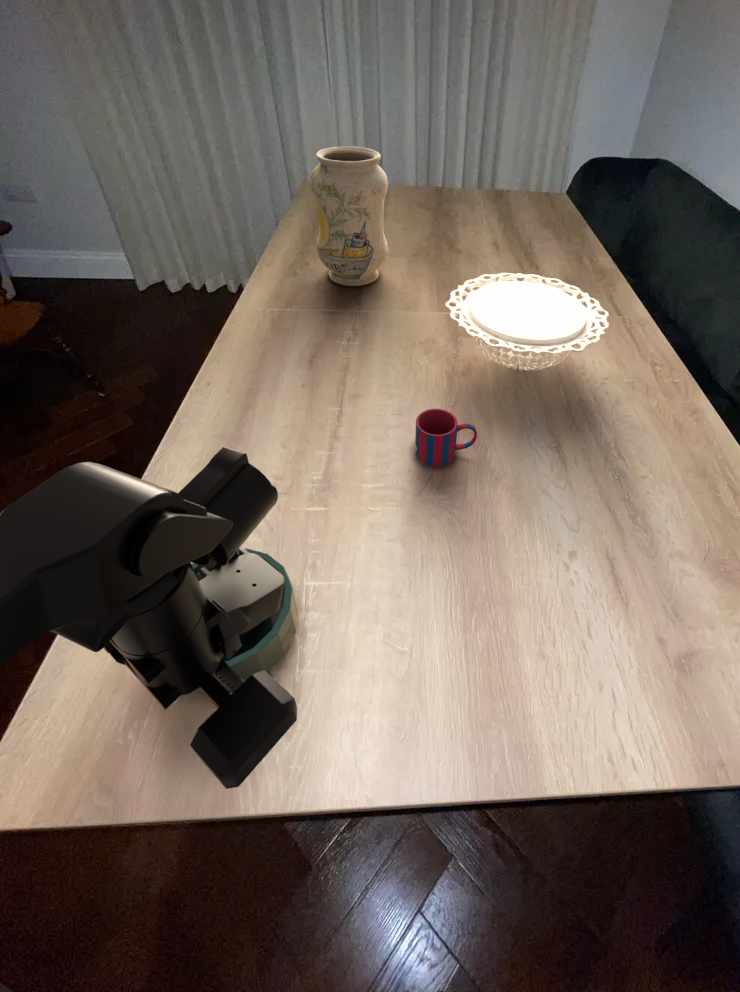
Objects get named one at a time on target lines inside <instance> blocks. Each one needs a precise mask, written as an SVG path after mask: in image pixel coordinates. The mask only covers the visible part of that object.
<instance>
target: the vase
mask: <svg viewBox="0 0 740 992" xmlns="http://www.w3.org/2000/svg"><path fill="white" fill-rule="evenodd" d="M315 157H316V159H317V161H319V163H318V164H317V165H316V166H315V167H314V168H313V170H312V171H311V173H310V176H309V186H310V190H311V192H312V193H313V195H314V198H315V203H316V212H317V219H318V227H319V228H318V231H319V233H318V237H317V238H316V239H317V240H316V246H315V247H316V253H317V256H318V258H319V260H320V261H321V263H322V264H323V265H324V267H325V268H326V269H328V270H329V271H328V276H329V279H330V280H331V281H332V282H333V283H336V284H338V285H341V286H346V287H359V286H366V285H369V284H372V283H373V282H375V281H376V280H377V279H378V278H379V277H380V276H379V275H380V273H379V268H381V266H382V265H383V264H384V262H385V260H386V258H387V256H388V251H389V247H388V245H389V244H388V242H387V239H386V236H385V233H384V232H385V231H384V213H385V198H386V195H387V192H388V188H389V183H388V182H389V180H388V176H387V174H386V172H385V171H384V169H382V167H381V166H380V165H379V164H378V163H379V162H380V160H381V159H382V155H381V153H379V152H378V151H377V150H374V149H371V148H368V147H364V146H363V147H362V146H353V145H352V146H334V147H327V148H322V149H319V150H318V151H317V152H316V153H315ZM330 272H331V273H330Z"/></svg>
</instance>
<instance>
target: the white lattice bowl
mask: <svg viewBox="0 0 740 992" xmlns="http://www.w3.org/2000/svg"><path fill="white" fill-rule="evenodd" d="M484 277H489V278H484ZM497 278H498V279H497ZM518 278H519V279H523V280H522V281H520V280H519V279H518ZM543 281H544V282H543ZM553 281H556V282H557V283H556V282H553ZM474 288H477V289H476V290H475V289H474ZM466 289H467V290H468V292H467V291H466ZM457 293H458V295H457ZM570 294H571V295H570ZM449 296H450V298H449V299H448V300H447V301H446V302H445V305H444V306H445V308H447V309H449V311H450V312H449V313H450V314H449V317H450V318H451V319H452V320H453V321H455V322H456V323H458V326H457V327H458V328H463V329H464V330H465V332H466V334H467V335H469V336H470V337H471V338H472V341H473V342H474V344H475V346H476V347H478V350H479V351H481V353H482V354H483V355H485V356H486V358H487V359H490V360H491V361H492V362H495V363H496V364H498V365H500V366H505V367H506V368H511V369H513V370H517V369H518V370H519V371H523V370H524V371H527V372H528V371H537V370H538V371H540V370H545V369H547V368H552V367H553V366H554V367H555V366H557V365H559V364H560V363H562V362H563V361H564V360H566V359H568V357H569V356H571V355H572V353H574V352H575V353H582V352H583V351H584V352H585V350H586V348H587V347H588V346H592V344H597V343H599V342H600V341H601V338H600V337H601V336H606V332H605V330H607V329H609V327H610V322H608V320H607V319H608V317H609V316H610V313H609V312H608V311H607V310H605V308H603V307H602V306H601V302H600V301H598V300H597V299H596V298H593V297H591V296H589V293H588V292H584V291H582V290H581V288H579V287H577V286H575V285H573V284H572V285H570V284H569V283H566V282H564V281H562V280H561V279H558V278H556V277H555V278H554V277H545V276H540V275H539V274H533V273H531V274H530V273H529V274H523V273H521V272H518V273H511V272H500V273H497V274H488V273H485V274H481V275H480V276H478V277H477V278H473V279H468V280H466V281H464V283H463V285H458V286H457V289H454V290H452V291H451V292H450V294H449ZM579 296H581V297H582V298H580V299H579V298H578V297H579ZM464 297H465V299H463V298H464ZM591 301H593V303H592V302H591ZM450 304H454V305H455V306H451V305H450ZM584 304H586V306H587V307H586V306H585V305H584ZM599 312H600V313H601V312H602V313H604V315H602V314H599ZM457 317H459V318H457ZM593 325H594V326H593ZM601 325H603V326H601ZM595 332H596V333H595ZM577 347H580V348H577Z"/></svg>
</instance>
